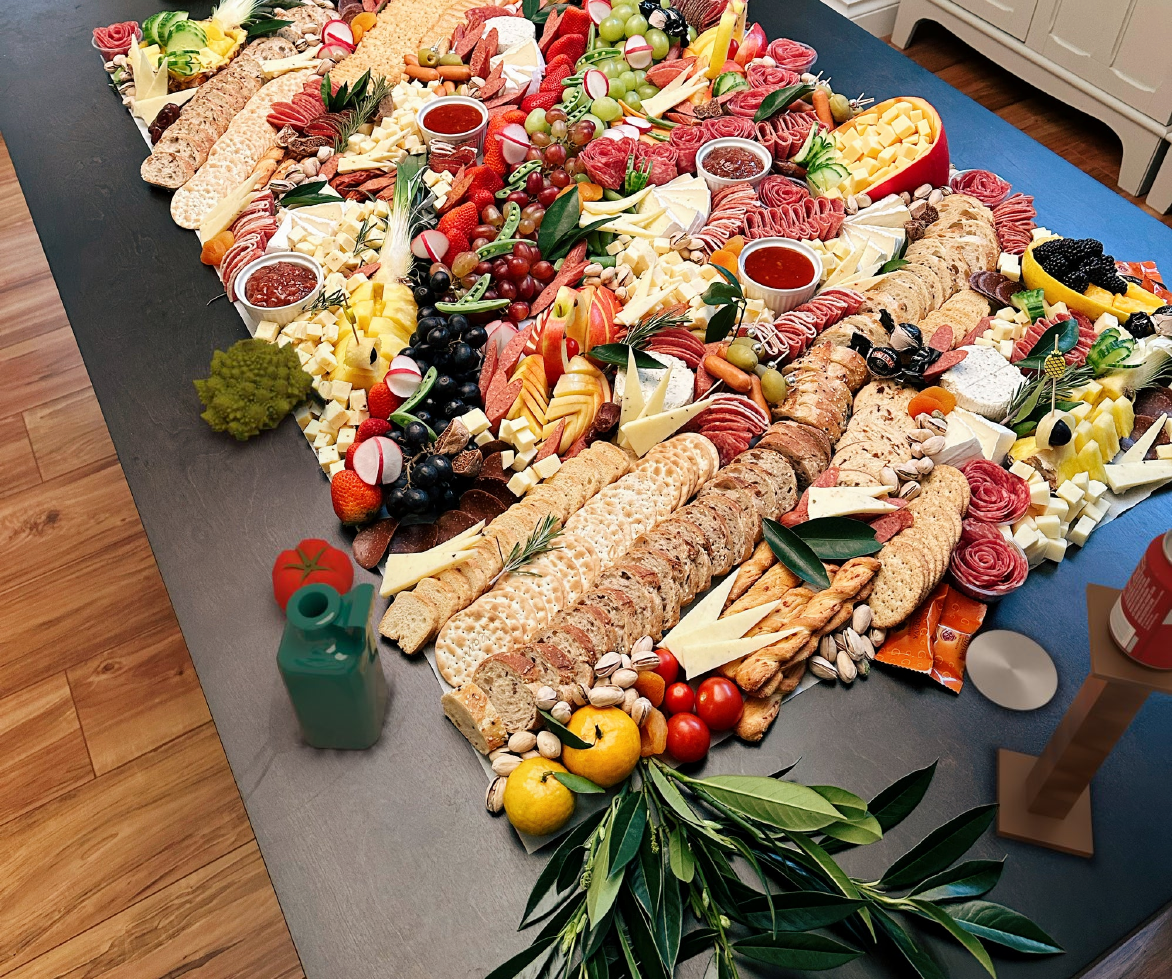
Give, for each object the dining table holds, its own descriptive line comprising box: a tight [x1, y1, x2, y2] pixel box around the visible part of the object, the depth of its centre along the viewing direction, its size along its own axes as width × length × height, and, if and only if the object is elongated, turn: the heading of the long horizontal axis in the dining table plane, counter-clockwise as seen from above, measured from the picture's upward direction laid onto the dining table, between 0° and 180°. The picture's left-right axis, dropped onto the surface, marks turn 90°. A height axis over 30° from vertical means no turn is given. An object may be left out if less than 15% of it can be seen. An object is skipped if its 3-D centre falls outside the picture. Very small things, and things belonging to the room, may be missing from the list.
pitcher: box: [275, 582, 389, 750], centre depth 116 cm, size 10×8×22 cm
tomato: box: [271, 537, 355, 614], centre depth 132 cm, size 9×9×8 cm
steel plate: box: [964, 629, 1059, 712], centre depth 127 cm, size 10×10×1 cm
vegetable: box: [192, 337, 328, 442], centre depth 153 cm, size 15×16×15 cm
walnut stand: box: [996, 582, 1172, 859], centre depth 105 cm, size 9×9×32 cm
